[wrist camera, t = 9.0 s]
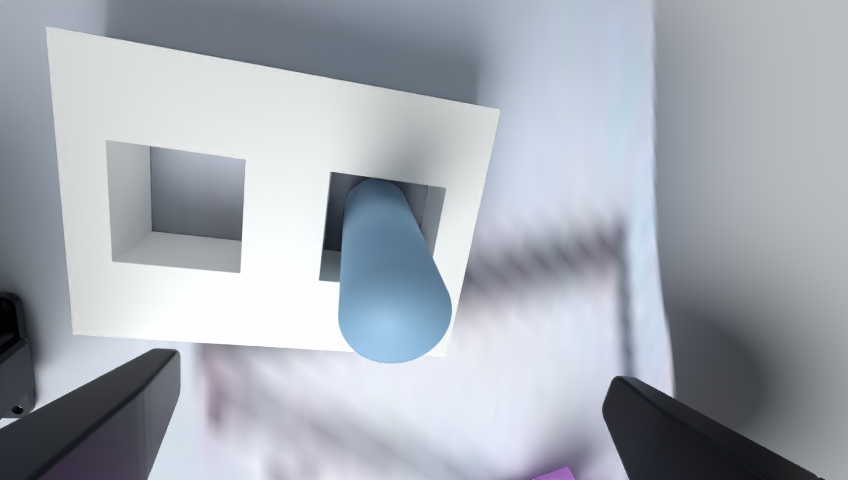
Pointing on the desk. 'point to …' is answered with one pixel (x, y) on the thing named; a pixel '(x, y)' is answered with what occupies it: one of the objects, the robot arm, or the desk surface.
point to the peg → (388, 278)
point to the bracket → (557, 475)
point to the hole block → (263, 191)
